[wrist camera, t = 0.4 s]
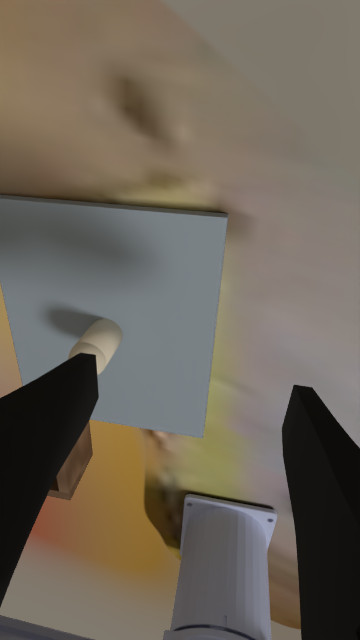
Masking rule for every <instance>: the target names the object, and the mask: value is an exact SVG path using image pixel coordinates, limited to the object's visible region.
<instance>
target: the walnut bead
mask: <svg viewBox="0 0 360 640" xmlns="http://www.w3.org/2000/svg"><path fill="white" fill-rule="evenodd" d="M91 457H92V444H91V434H90V425H89V422H88V424H87V425H86V427H85V429H84V430H83V432H82V434H81V436H80V437H79V439H78V441H77V442H76V444H75V446H74V447H73V449H72V451H71V452H70V454H69V456H68V458H67V459H66V461H65V463H64V464H63V466H62V468H61V469H60V471H59V473H58V475H57V476H56V478H55V480H54V482H53V484H52V486H51V488H50V490H49V492H48V494H47V496H52V497H57V498H62V499H67V500H71V497H72V496H73V493H74V491H75V489H76V487H77V485H78V483H79V481H80V479H81V477H82V475H83V473H84V471H85V469H86V467H87V465H88V463H89V461H90V459H91Z"/></svg>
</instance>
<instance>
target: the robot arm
mask: <svg viewBox="0 0 360 640" xmlns="http://www.w3.org/2000/svg"><path fill="white" fill-rule="evenodd" d="M98 398H99V393H98V378H97V363H96V355H94V354H87V353H79V354H77V355H75V356H73V357H72V358H70V359H68V360H67V361H65V362H63V363H62V364H60V365H58V366H57V367H55V368H54V369H52V370H50V371H49V372H47V373H45V374H44V375H42V376H40V377H39V378H37V379H35V380H33V381H32V382H30V383H28V384H26V385H24V386H23V387H21V388H19V389H17V390H15V391H13V392H11V393H10V394H8V395H6V396H4V397H1V398H0V606H1V604H2V601H3V599H4V596H5V594H6V591H7V588H8V586H9V583H10V580H11V578H12V575H13V573H14V570H15V568H16V566H17V563H18V561H19V558H20V556H21V553H22V551H23V549H24V546H25V544H26V541H27V539H28V537H29V534H30V532H31V530H32V527H33V525H34V523H35V521H36V518H37V516H38V514H39V512H40V509H41V507H42V505H43V503H44V501H45V499H46V496H47V494H48V492H49V490H50V488H51V486H52V484H53V482H54V480H55V478H56V476H57V475H58V473H59V471H60V469H61V468H62V466H63V464H64V463H65V461H66V459H67V458H68V456H69V454H70V452H71V451H72V449H73V447H74V446H75V444H76V442H77V441H78V439H79V437H80V436H81V434H82V432H83V430H84V429H85V427H86V425H87V424H88V422H89V420H90V417H91V415H92V413H93V411H94V408H95V406H96V403H97V401H98ZM282 443H283V458H284V464H285V470H286V476H287V482H288V488H289V494H290V500H291V506H292V512H293V517H294V525H295V533H296V545H297V559H298V575H299V592H300V613H301V636H302V640H360V448H359V447H358V446H357V445H356V444H355V442H354V441H353V440H352V439H351V438H350V437H349V435H348V434H347V433H346V432H345V430H344V429H343V428H342V427H341V425H340V424H339V423H338V422H337V420H336V419H335V418H334V416H333V415H332V414H331V412H330V411H329V410H328V408H327V407H326V406H325V404H324V403H323V402H322V400H321V399H320V397H319V396H318V395H317V393H316V392H315V391H314V389H313V388H312V387H306V386H299V385H294V386H293V390H292V393H291V397H290V401H289V404H288V408H287V412H286V415H285V419H284V423H283V426H282ZM276 520H277V512H276V511H275V510H272V509H268V508H262V507H257V506H252V505H246V504H241V503H236V502H231V501H225V500H220V499H215V498H210V497H204V496H199V495H194V494H187V495H186V496H185V500H184V511H183V523H182V534H181V546H180V555H181V556H182V558H181V564H180V571H179V577H178V583H177V590H176V596H175V603H174V609H173V616H172V623H171V628H170V631H169V630H165V631H164V636H163V640H271V625H270V604H269V584H268V564H267V550H268V546H269V543H270V540H271V536H272V533H273V530H274V527H275V523H276ZM0 640H94V639H90V638H86V637H82V636H78V635H74V634H71V633H67V632H63V631H59V630H55V629H51V628H48V627H44V626H40V625H36V624H32V623H28V622H24V621H21V620H17V619H13V618H9V617H5V616H1V615H0Z"/></svg>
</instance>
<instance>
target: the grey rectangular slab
mask: <svg viewBox="0 0 360 640" xmlns="http://www.w3.org/2000/svg"><path fill="white" fill-rule="evenodd" d="M227 222H228V214H227V213H215V212H203V211H191V210H179V209H167V208H155V207H142V206H130V205H118V204H106V203H94V202H82V201H70V200H58V199H46V198H34V197H22V196H10V195H0V283H1V287H2V292H3V296H4V301H5V306H6V311H7V315H8V320H9V325H10V329H11V334H12V338H13V343H14V347H15V352H16V357H17V361H18V366H19V371H20V375H21V380H22V385H23V386H24V385H26V384H28V383H30V382H32V381H33V380H35V379H37V378H39V377H40V376H42V375H44V374H45V373H47V372H49V371H50V370H52V369H54V368H55V367H57V366H58V365H60V364H62V363H63V362H65V361H67V360H68V359H70V358H72V357H73V356H75V355H77V354H79V353H87V354H94V355H96V363H97V378H98V393H99V398H98V401H97V403H96V406H95V408H94V411H93V413H92V415H91V417H90V419H91V420H97V421H103V422H109V423H115V424H121V425H127V426H133V427H139V428H145V429H151V430H157V431H163V432H169V433H174V434H180V435H186V436H192V437H198V438H203V433H204V426H205V417H206V408H207V399H208V390H209V382H210V373H211V364H212V355H213V346H214V337H215V328H216V320H217V311H218V302H219V293H220V284H221V275H222V266H223V258H224V249H225V240H226V231H227Z"/></svg>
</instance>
